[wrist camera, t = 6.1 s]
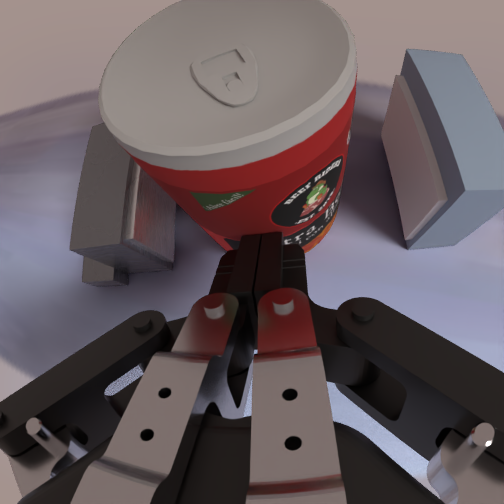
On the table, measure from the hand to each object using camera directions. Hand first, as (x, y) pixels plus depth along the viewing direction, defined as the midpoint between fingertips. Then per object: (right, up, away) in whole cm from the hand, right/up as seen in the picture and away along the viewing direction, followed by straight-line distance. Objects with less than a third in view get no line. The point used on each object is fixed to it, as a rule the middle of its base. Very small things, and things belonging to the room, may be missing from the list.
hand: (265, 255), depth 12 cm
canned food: (+1, +3, +6) cm, 7 cm away
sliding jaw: (+12, +4, +4) cm, 13 cm away
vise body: (-7, +2, +7) cm, 10 cm away
